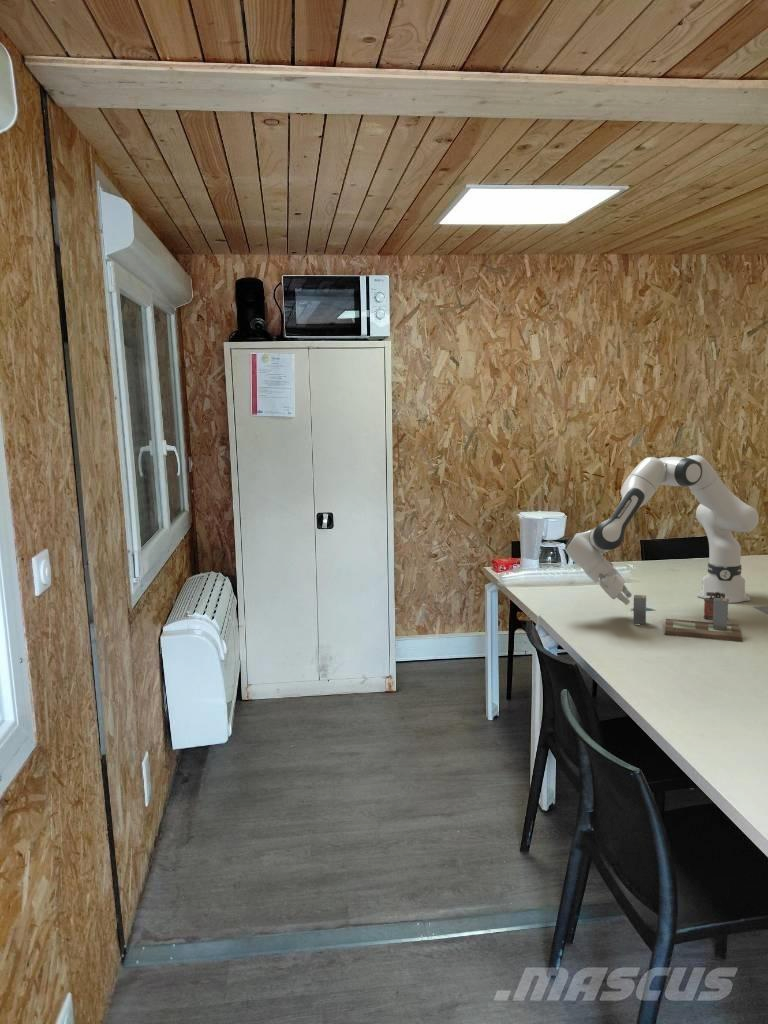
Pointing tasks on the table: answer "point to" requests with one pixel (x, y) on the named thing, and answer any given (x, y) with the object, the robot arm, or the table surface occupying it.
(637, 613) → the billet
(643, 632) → the table surface
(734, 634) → the pallet
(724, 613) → the block
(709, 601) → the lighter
